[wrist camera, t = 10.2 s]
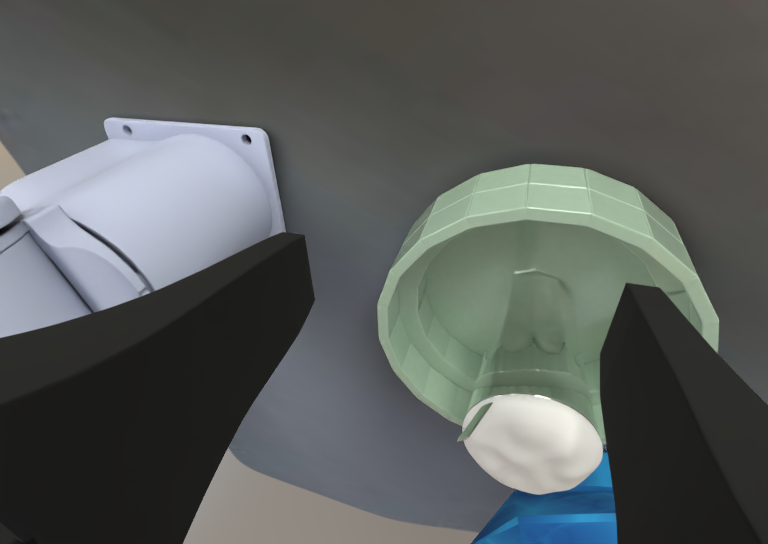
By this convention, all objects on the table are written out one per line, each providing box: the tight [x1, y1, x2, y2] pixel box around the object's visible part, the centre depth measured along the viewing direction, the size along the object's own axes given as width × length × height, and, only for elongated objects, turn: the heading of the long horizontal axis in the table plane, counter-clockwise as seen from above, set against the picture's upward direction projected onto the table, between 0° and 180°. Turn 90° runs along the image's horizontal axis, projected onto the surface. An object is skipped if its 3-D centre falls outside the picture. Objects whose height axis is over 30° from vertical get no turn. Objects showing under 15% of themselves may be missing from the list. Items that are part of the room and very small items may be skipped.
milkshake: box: [457, 273, 603, 495], centre depth 17 cm, size 5×5×10 cm
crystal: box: [471, 452, 617, 544], centre depth 25 cm, size 7×9×12 cm
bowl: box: [377, 164, 719, 445], centre depth 20 cm, size 13×13×4 cm
